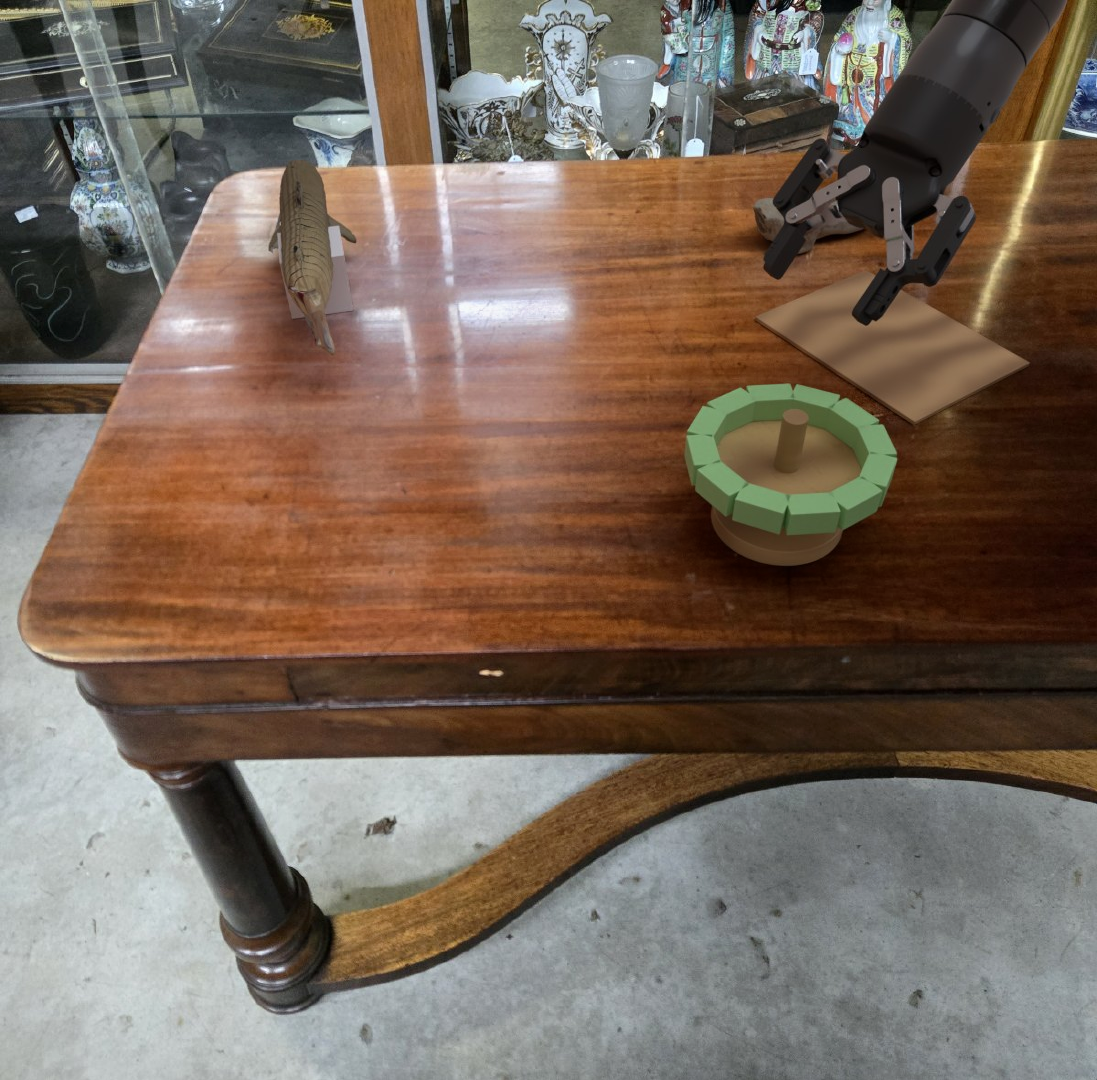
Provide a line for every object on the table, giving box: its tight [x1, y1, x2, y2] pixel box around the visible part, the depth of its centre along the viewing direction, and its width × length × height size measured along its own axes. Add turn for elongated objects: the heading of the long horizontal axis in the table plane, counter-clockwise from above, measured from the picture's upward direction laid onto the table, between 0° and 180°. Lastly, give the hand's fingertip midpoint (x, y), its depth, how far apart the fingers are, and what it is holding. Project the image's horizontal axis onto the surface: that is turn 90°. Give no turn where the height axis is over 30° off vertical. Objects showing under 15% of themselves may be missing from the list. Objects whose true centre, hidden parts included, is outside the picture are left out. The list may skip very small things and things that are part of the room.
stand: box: [710, 409, 862, 567], centre depth 76 cm, size 12×12×10 cm
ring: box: [683, 383, 898, 535], centre depth 75 cm, size 15×15×2 cm
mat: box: [754, 269, 1031, 426], centre depth 97 cm, size 20×15×1 cm
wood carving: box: [268, 159, 357, 356], centre depth 98 cm, size 9×35×11 cm, turn 13°
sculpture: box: [752, 190, 865, 255], centre depth 110 cm, size 7×5×15 cm
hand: (813, 297), depth 78 cm, fingers open, 8 cm apart
